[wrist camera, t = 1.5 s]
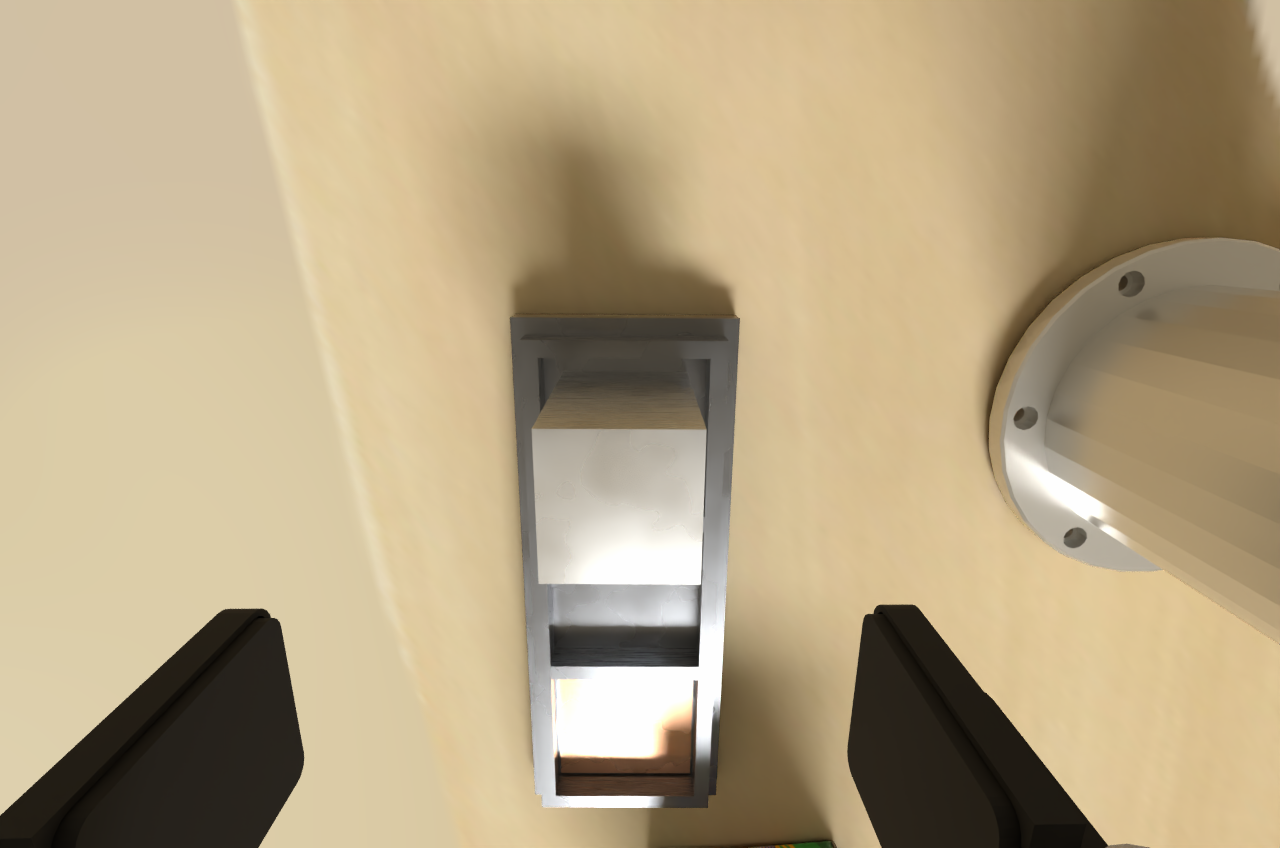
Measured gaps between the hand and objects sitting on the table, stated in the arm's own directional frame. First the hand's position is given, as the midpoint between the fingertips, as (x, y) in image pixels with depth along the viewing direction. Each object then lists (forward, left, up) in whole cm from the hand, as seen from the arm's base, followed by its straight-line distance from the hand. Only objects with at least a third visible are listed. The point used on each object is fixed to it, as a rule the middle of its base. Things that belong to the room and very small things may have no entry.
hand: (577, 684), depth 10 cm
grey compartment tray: (0, +6, -15) cm, 16 cm away
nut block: (-1, 0, -14) cm, 14 cm away
